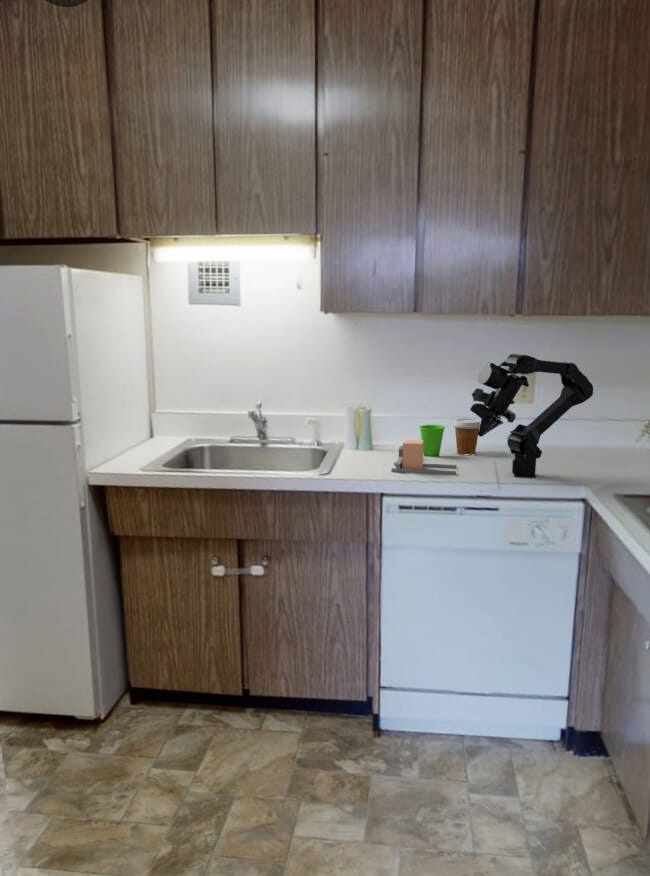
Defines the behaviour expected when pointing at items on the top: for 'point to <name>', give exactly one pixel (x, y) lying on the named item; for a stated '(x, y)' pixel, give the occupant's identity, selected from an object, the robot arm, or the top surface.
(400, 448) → the walnut block
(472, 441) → the disposable coffee cup
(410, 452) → the terracotta block
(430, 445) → the cup
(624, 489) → the top surface
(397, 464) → the track
